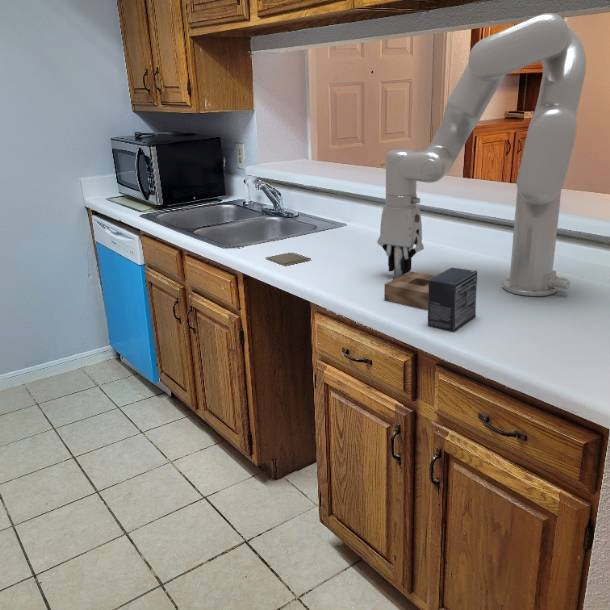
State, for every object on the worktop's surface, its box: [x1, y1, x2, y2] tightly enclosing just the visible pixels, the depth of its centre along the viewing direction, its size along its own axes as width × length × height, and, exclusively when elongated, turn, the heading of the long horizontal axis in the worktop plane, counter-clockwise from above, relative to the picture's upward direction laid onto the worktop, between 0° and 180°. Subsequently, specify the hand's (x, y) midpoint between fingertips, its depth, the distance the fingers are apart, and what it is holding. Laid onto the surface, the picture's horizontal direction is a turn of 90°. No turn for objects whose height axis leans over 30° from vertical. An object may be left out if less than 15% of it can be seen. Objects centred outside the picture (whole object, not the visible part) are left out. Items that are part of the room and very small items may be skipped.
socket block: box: [383, 271, 436, 311], centre depth 142 cm, size 12×12×4 cm
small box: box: [427, 267, 478, 333], centre depth 127 cm, size 11×6×10 cm, turn 141°
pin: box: [393, 246, 406, 280], centre depth 156 cm, size 3×3×10 cm
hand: (399, 270), depth 157 cm, fingers open, 3 cm apart
